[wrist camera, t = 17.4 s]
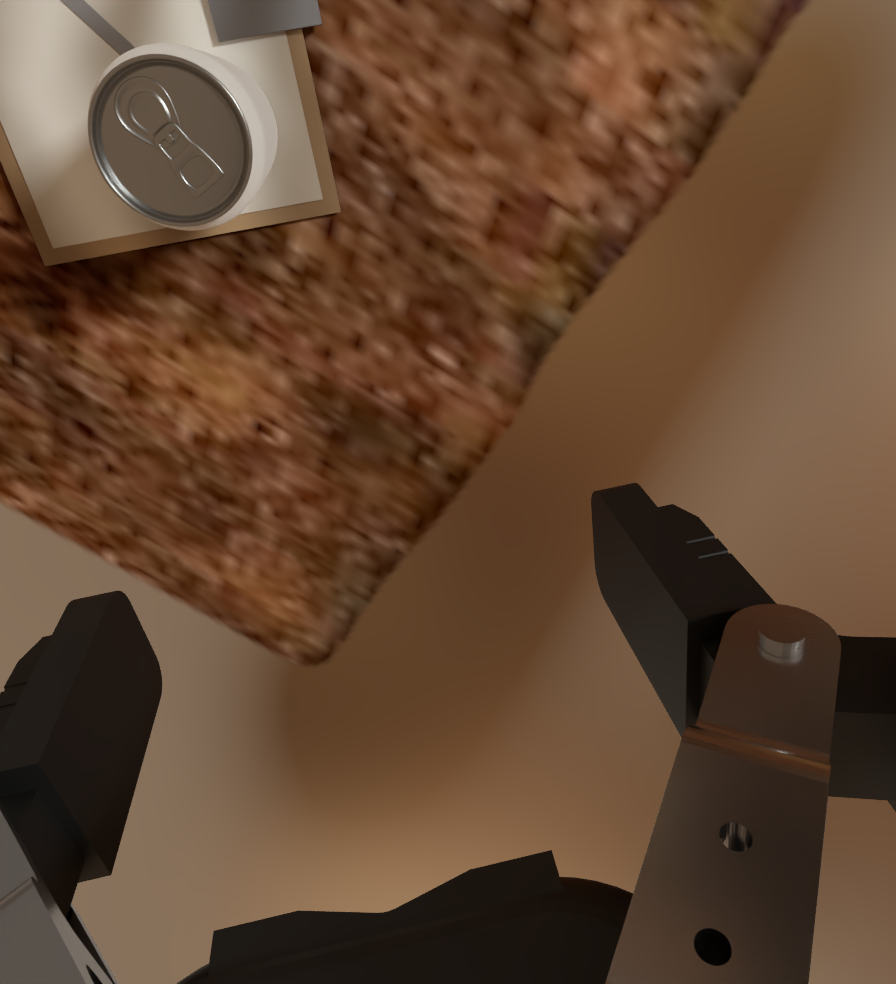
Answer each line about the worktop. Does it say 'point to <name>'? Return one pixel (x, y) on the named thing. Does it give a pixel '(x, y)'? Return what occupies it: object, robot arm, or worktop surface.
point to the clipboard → (69, 86)
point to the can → (181, 135)
